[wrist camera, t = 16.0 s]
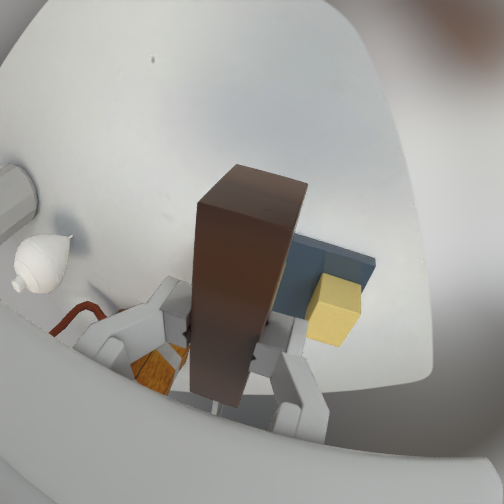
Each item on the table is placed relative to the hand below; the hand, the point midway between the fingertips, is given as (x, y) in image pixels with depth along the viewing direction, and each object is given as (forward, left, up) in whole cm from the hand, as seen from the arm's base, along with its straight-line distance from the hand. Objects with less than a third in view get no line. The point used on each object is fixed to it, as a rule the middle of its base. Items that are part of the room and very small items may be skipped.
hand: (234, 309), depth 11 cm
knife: (+5, 0, -2) cm, 5 cm away
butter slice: (+12, +7, -16) cm, 20 cm away
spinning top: (+17, -28, -17) cm, 37 cm away
